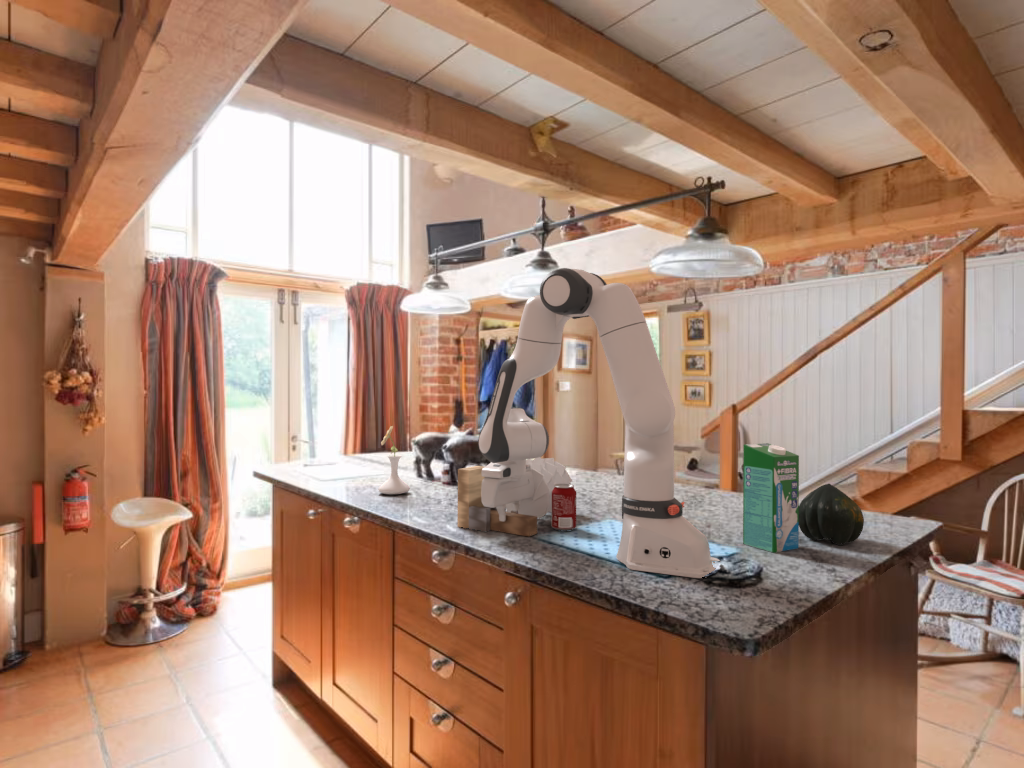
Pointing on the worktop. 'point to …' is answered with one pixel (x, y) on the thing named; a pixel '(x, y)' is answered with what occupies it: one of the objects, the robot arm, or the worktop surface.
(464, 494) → the post
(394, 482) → the flower in vase
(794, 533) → the milk carton
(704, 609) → the worktop surface
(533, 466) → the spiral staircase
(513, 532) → the wooden block
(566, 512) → the soda can
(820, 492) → the squash
